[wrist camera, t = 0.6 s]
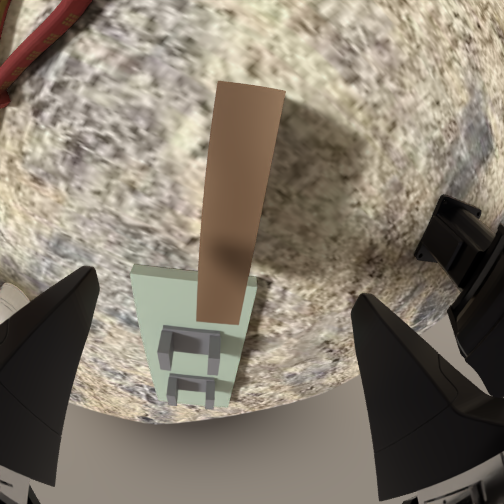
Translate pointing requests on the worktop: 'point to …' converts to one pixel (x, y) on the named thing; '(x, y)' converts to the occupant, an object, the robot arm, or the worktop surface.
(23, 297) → the container set
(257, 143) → the brown wooden block
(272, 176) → the worktop surface
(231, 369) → the hinge base
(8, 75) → the pliers
